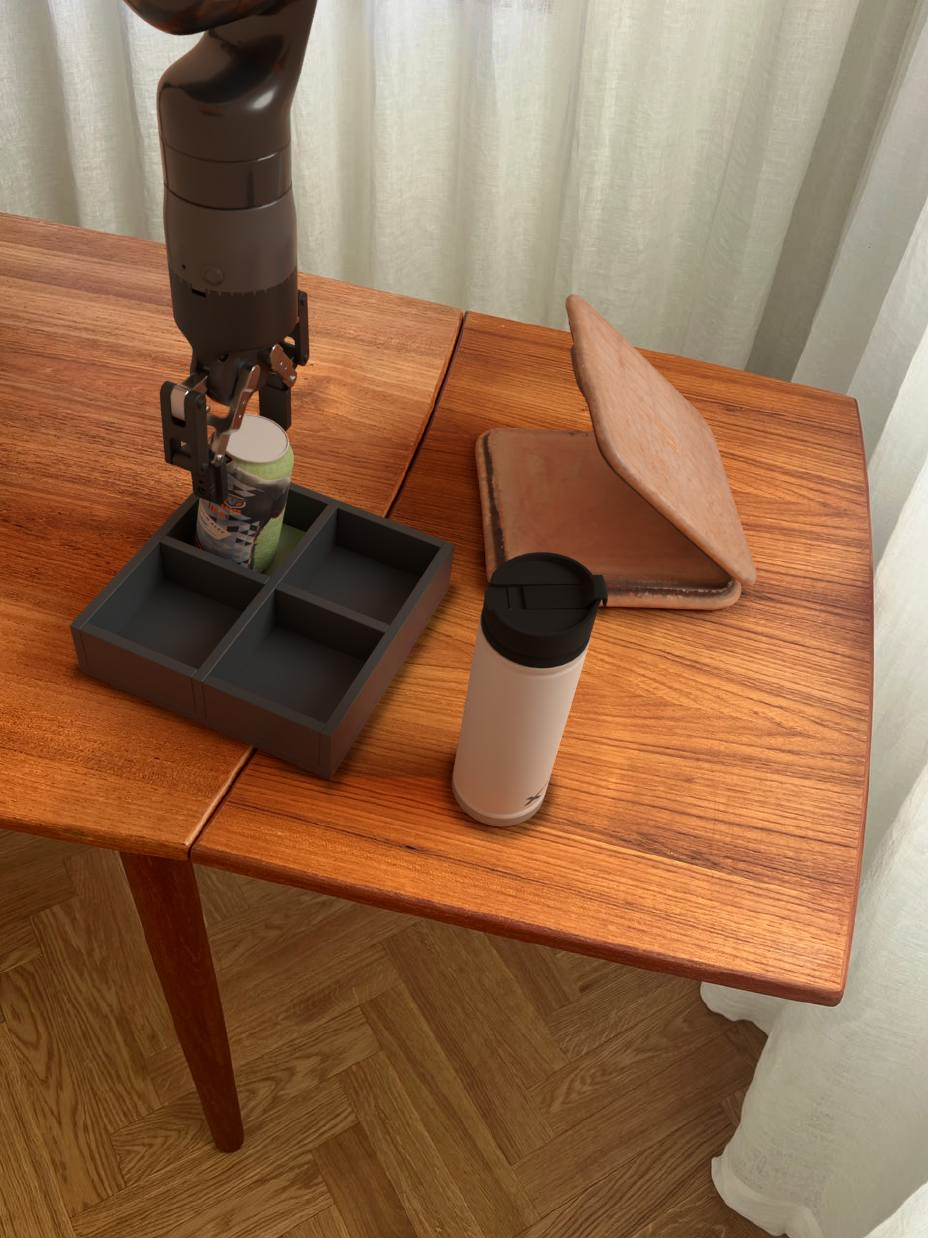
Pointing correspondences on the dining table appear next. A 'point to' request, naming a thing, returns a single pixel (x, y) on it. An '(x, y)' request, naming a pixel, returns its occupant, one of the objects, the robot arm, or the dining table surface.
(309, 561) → the four compartment organizer
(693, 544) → the case
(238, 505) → the beverage can
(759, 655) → the dining table surface
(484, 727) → the travel mug
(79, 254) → the dining table surface
